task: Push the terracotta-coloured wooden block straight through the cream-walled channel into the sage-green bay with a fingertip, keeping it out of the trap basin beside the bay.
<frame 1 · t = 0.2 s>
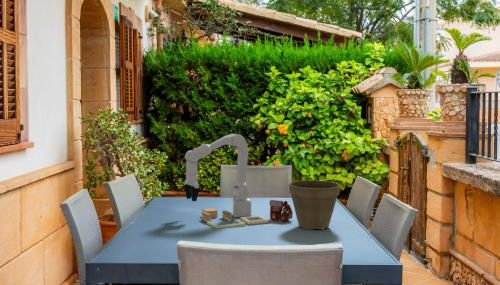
hand: (191, 199, 287), 10 cm above the table, tool pointing down, fingers open, 7 cm apart
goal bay: (225, 224, 276), on the table
toy fire truck: (280, 220, 290), on the table
channel walls: (216, 220, 286), on the table
trap basin: (254, 222, 284), on the table
terracotta block: (209, 217, 294), on the table
plant pot: (313, 227, 275), on the table
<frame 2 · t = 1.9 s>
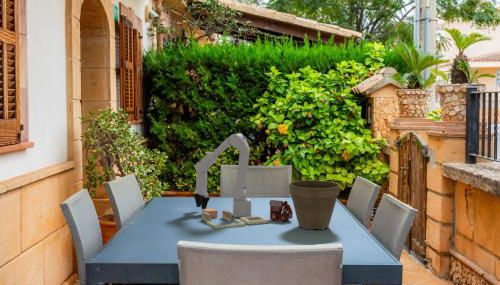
hand: (201, 208, 304), 2 cm above the table, tool pointing down, fingers open, 7 cm apart
nothing on the table moved.
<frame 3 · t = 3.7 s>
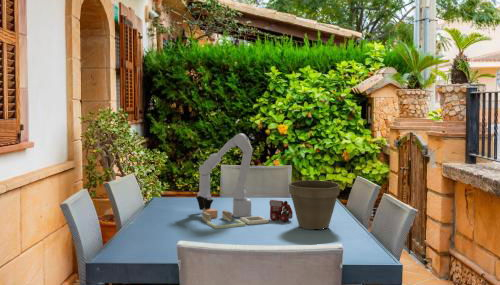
hand: (204, 210, 301), 2 cm above the table, tool pointing down, fingers open, 7 cm apart
terracotta block: (209, 217, 294), on the table, touching gripper
everything else where it was.
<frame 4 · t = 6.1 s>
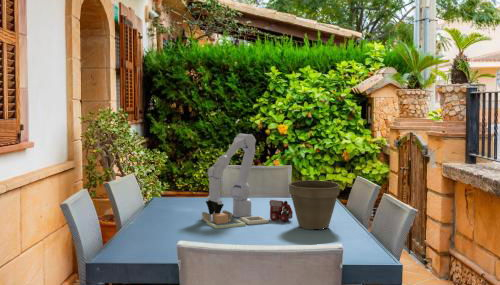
hand: (214, 215, 289), 2 cm above the table, tool pointing down, fingers open, 7 cm apart
terracotta block: (220, 222, 282), on the table, touching gripper
everything else where it was.
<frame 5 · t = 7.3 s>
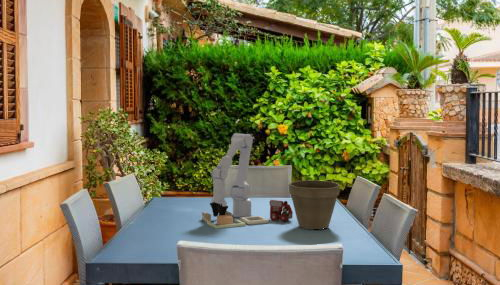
hand: (218, 217, 284), 2 cm above the table, tool pointing down, fingers open, 7 cm apart
terracotta block: (224, 224, 277), on the table, touching gripper
everything else where it was.
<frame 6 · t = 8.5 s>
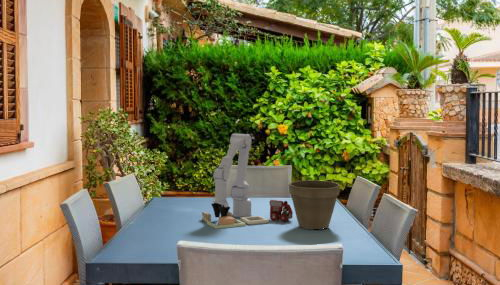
hand: (220, 218, 282), 2 cm above the table, tool pointing down, fingers open, 7 cm apart
terracotta block: (226, 225, 275), on the table
everything else where it was.
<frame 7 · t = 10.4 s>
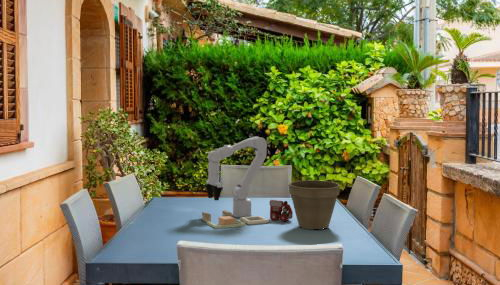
hand: (213, 199, 294), 9 cm above the table, tool pointing down, fingers open, 7 cm apart
nothing on the table moved.
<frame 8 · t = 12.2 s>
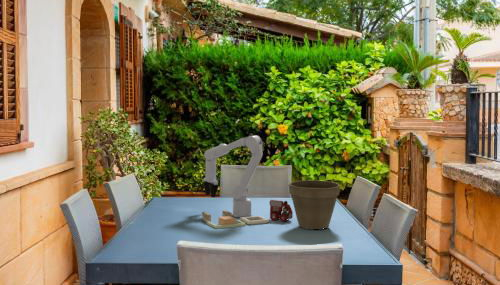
hand: (210, 196, 303), 9 cm above the table, tool pointing down, fingers open, 7 cm apart
nothing on the table moved.
at the end: terracotta block inside the target area (0.8 cm from its centre), on the table; terracotta block tilted 0°; terracotta block touching table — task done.
